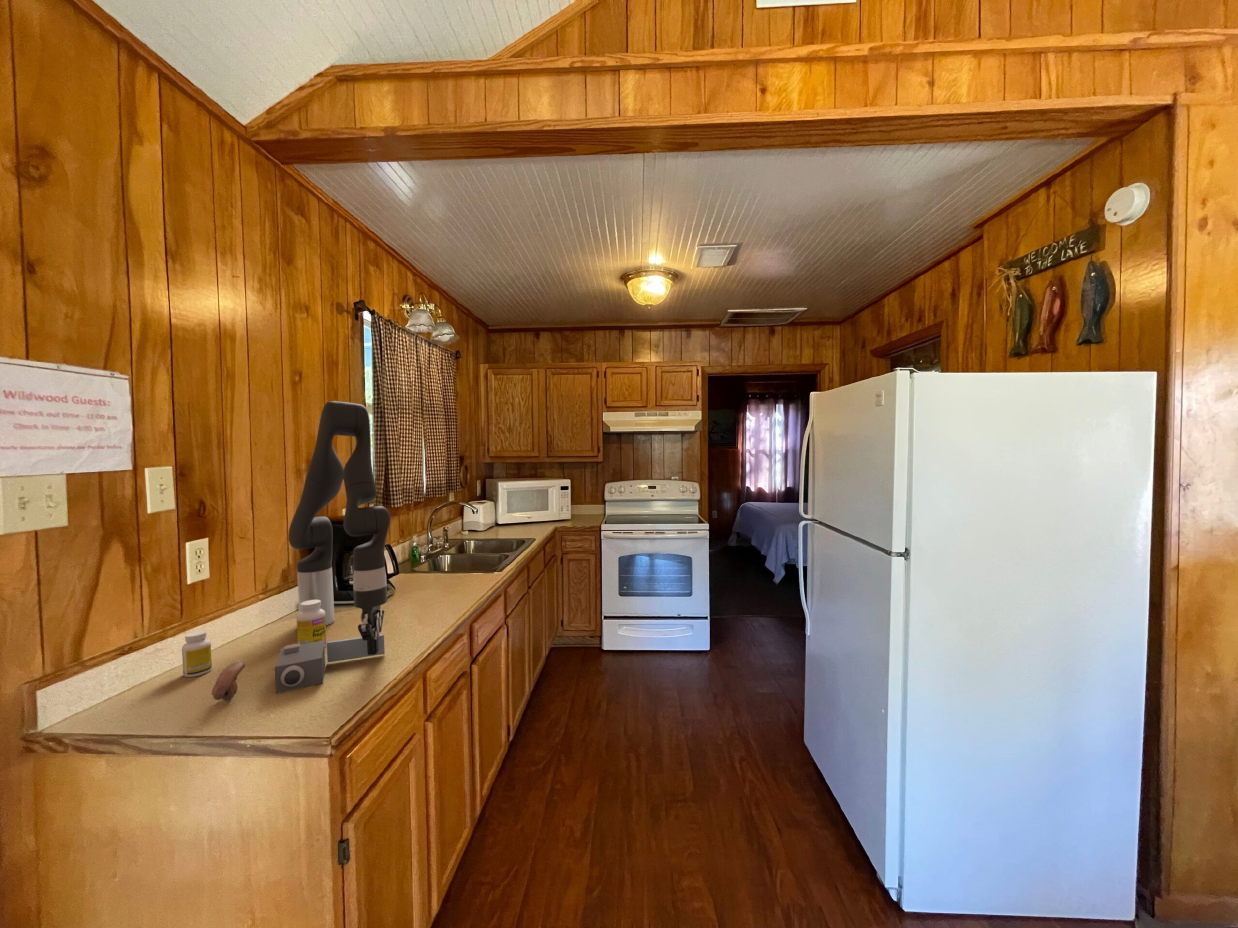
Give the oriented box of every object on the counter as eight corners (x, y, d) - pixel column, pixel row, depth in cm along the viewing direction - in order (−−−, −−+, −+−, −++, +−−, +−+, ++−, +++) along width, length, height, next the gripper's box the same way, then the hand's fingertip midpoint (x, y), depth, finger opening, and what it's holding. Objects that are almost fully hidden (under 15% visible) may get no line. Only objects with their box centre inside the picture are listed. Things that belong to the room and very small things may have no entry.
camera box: (282, 672, 121) (281, 643, 121) (325, 663, 126) (324, 636, 125) (275, 696, 109) (273, 665, 109) (322, 686, 114) (321, 656, 113)
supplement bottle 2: (313, 654, 132) (310, 606, 131) (292, 653, 133) (289, 605, 132) (332, 644, 138) (330, 598, 138) (312, 643, 139) (309, 597, 139)
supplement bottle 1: (217, 669, 124) (215, 630, 124) (192, 679, 119) (190, 638, 119) (202, 666, 126) (200, 628, 125) (177, 676, 121) (175, 636, 120)
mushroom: (227, 710, 104) (225, 673, 104) (199, 710, 104) (197, 673, 104) (256, 692, 111) (254, 657, 111) (230, 692, 112) (228, 657, 112)
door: (327, 662, 125) (326, 642, 125) (328, 660, 126) (327, 640, 126) (384, 654, 130) (383, 635, 129) (384, 651, 131) (384, 633, 131)
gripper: (377, 591, 120) (380, 662, 120) (393, 578, 133) (396, 642, 133) (344, 593, 119) (347, 665, 119) (363, 580, 132) (366, 645, 132)
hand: (373, 653), depth 126 cm, fingers closed
